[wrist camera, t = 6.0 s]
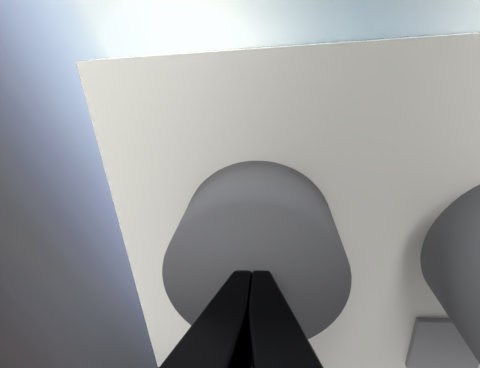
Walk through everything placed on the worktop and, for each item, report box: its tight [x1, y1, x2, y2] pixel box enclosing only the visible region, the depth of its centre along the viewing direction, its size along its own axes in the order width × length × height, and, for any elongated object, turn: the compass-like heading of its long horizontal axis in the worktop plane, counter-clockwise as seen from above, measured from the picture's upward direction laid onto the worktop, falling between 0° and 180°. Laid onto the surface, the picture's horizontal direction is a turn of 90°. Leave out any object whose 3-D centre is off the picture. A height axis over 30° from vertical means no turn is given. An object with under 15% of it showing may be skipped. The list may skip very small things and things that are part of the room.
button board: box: [76, 32, 480, 368], centre depth 10 cm, size 12×22×2 cm, turn 94°
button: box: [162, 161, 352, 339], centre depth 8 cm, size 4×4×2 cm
